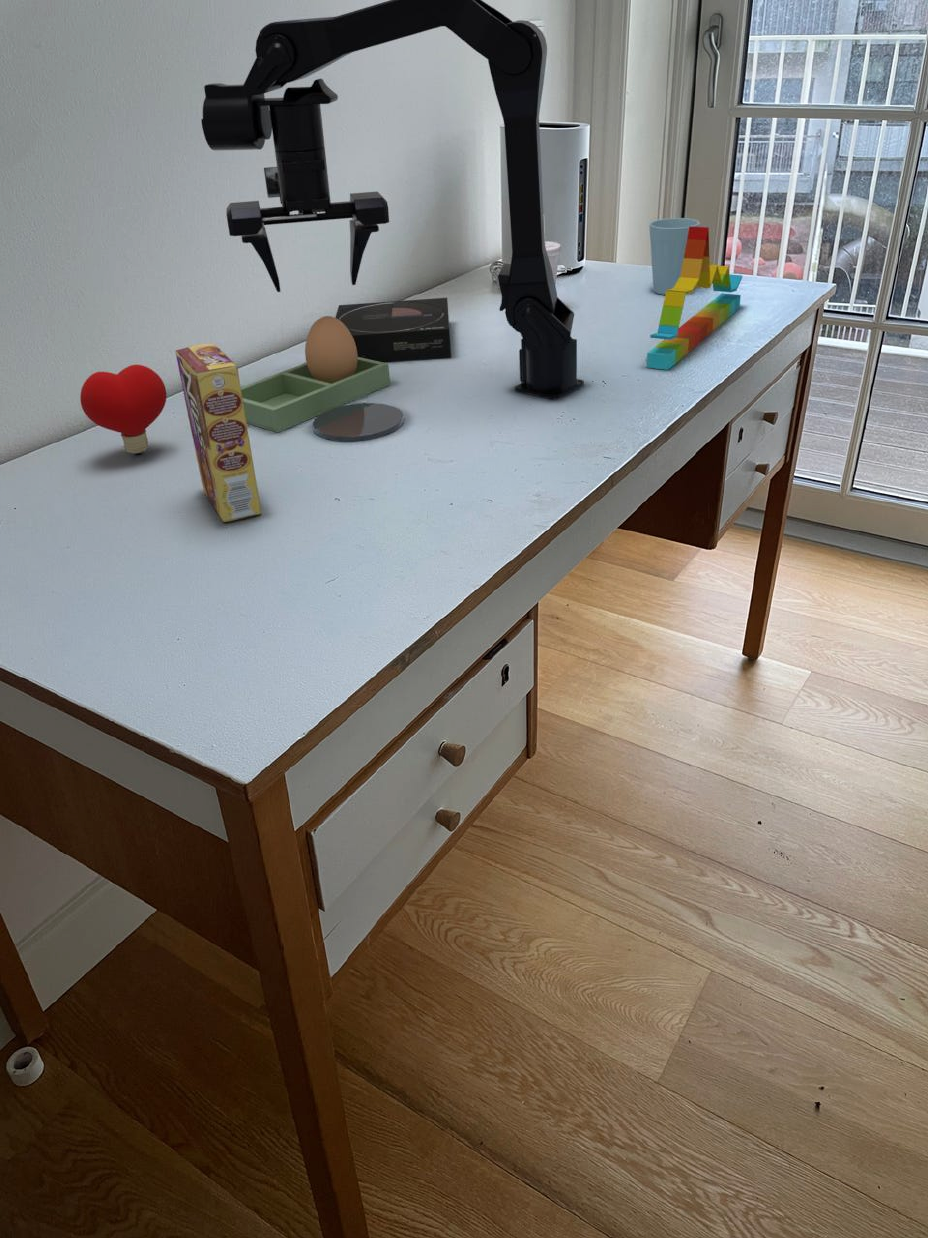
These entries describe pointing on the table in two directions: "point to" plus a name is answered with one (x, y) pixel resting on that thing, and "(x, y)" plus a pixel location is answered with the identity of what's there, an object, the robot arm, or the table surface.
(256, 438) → the table surface
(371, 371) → the tray
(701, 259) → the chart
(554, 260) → the smoothie
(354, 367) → the egg
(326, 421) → the coaster
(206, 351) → the candy box
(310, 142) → the robot arm
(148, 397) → the light bulb
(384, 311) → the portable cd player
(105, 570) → the table surface
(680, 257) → the cup
